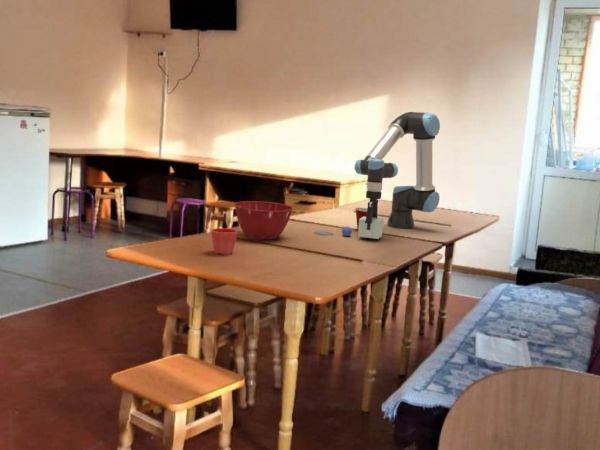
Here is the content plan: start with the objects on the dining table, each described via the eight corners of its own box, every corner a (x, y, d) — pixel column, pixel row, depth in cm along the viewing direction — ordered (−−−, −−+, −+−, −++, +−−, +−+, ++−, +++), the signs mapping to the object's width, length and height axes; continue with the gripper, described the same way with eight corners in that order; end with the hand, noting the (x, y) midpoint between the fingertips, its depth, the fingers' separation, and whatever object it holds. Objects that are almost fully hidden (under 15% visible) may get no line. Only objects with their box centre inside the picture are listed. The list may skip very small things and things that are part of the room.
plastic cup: (372, 233, 360) (374, 211, 358) (351, 231, 362) (353, 209, 360) (374, 230, 370) (376, 208, 368) (354, 228, 372) (356, 206, 370)
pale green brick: (382, 235, 347) (383, 218, 346) (378, 238, 337) (379, 221, 336) (362, 233, 350) (363, 216, 349) (357, 236, 340) (359, 219, 339)
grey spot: (335, 233, 354) (335, 232, 354) (330, 236, 345) (330, 235, 345) (317, 230, 357) (317, 230, 357) (311, 233, 348) (311, 233, 348)
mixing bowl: (299, 235, 340) (301, 205, 338) (278, 245, 314) (280, 212, 311) (247, 229, 349) (248, 199, 347) (222, 238, 323) (224, 205, 320)
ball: (352, 236, 349) (353, 226, 348) (350, 237, 344) (350, 227, 344) (342, 234, 351) (343, 225, 350) (340, 236, 346) (341, 226, 345)
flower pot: (211, 249, 296) (211, 227, 294) (236, 250, 297) (237, 228, 295) (209, 254, 286) (210, 231, 284) (236, 255, 287) (237, 233, 285)
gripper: (371, 187, 352) (367, 230, 355) (361, 192, 330) (358, 237, 334) (385, 189, 350) (381, 231, 353) (377, 193, 328) (373, 239, 332)
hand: (370, 234), depth 344 cm, fingers closed on pale green brick, 10 cm apart
